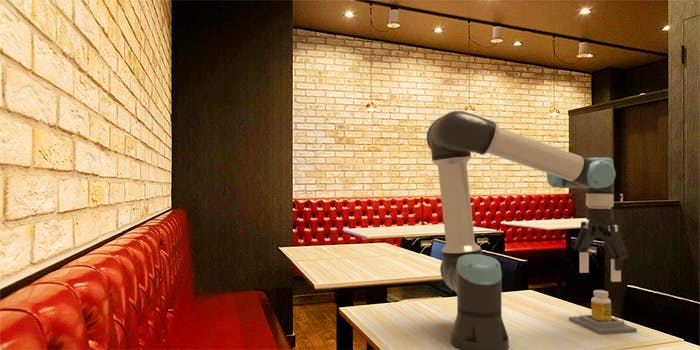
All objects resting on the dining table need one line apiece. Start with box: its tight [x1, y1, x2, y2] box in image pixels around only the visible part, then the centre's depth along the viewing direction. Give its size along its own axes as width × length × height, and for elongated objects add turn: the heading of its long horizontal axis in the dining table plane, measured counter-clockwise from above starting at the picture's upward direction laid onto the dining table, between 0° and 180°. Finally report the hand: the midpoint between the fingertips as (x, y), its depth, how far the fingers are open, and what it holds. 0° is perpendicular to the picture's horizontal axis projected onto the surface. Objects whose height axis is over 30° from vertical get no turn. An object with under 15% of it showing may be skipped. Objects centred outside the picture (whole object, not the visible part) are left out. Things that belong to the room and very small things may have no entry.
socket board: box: [568, 314, 638, 335], centre depth 139 cm, size 12×14×2 cm
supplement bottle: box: [590, 289, 612, 323], centre depth 139 cm, size 5×5×10 cm
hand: (599, 276), depth 140 cm, fingers open, 13 cm apart
